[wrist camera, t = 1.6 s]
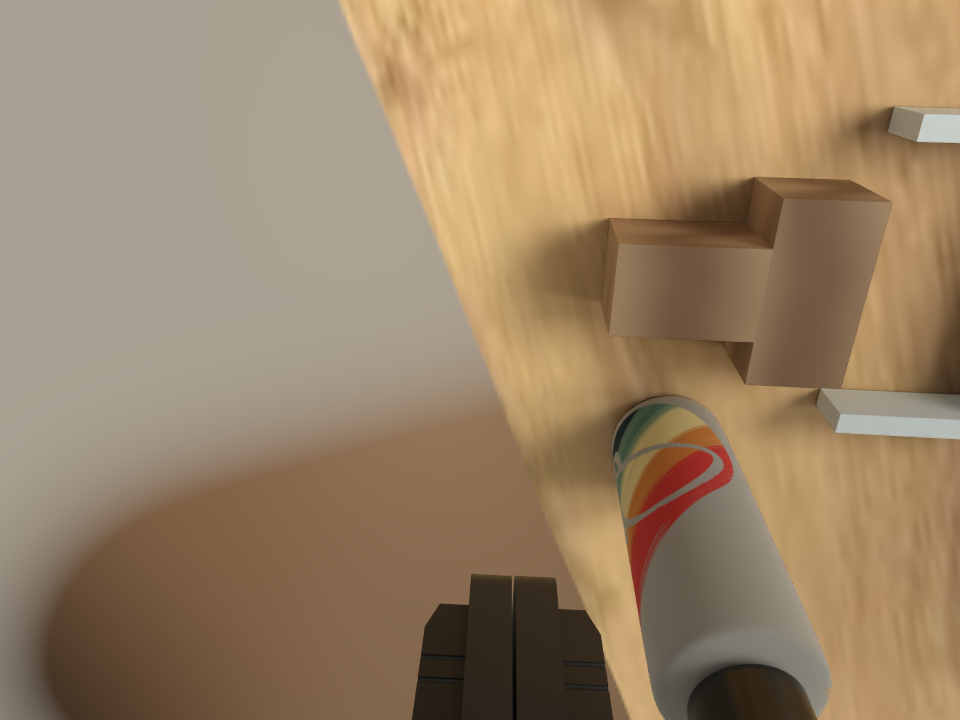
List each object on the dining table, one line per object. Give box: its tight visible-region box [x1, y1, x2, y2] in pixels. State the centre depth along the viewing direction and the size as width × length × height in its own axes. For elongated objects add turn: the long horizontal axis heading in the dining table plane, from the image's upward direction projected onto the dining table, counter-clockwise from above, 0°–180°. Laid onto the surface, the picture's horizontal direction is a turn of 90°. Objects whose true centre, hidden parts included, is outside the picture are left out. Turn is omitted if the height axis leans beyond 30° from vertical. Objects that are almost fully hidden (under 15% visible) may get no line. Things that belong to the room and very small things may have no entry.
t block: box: [601, 177, 892, 389], centre depth 30 cm, size 10×8×4 cm
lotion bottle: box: [612, 396, 832, 720], centre depth 27 cm, size 6×6×20 cm
